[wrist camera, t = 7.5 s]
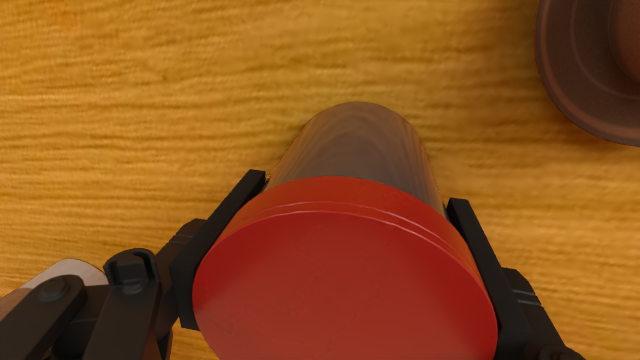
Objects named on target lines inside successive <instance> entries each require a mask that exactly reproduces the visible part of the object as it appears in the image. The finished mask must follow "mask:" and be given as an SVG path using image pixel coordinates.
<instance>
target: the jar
mask: <svg viewBox="0 0 640 360" xmlns="http://www.w3.org/2000/svg"><path fill="white" fill-rule="evenodd" d="M320 176H344V177H355V178H361V179H366V180H372V181H376V182H379V183H382V184H386V185H389V186H392V187H395V188H397V189H399V190H402V191H404V192H406V193H409V194H411V195H413V196H414V197H416V198H418V199H419V200H421V201H423V202H425V203H426V204H428V205H430V206H431V207H432V208H433V209H435V210H436V211H437V212H439V213H440V214H441V215H442V216H444V217H445V218H446V219H447V220H448V221H449V222H450V223H451V221H450V218H449V215H448V212H447V210H446V207H445V204H444V201H443V198H442V196H441V193H440V190H439V187H438V185H437V182H436V179H435V176H434V174H433V171H432V168H431V165H430V162H429V160H428V157H427V154H426V151H425V149H424V146H423V143H422V141H421V139H420V137H419V135H418V134H417V132H416V131H415V129H414V128H413V127H412V126H411V125H410V123H409V122H408V121H406V120H405V119H404V118H403V117H402V116H400V115H399V114H397V113H396V112H394V111H392V110H390V109H388V108H386V107H383V106H380V105H377V104H373V103H367V102H349V103H343V104H338V105H335V106H332V107H330V108H327V109H325V110H323V111H322V112H320V113H318V114H317V115H316V116H314V117H313V118H312V119H311V120H310V121H309V122H307V123H306V125H305V126H304V127H303V128H302V130H301V131H300V133H299V134H298V136H297V137H296V138H295V140H294V141H293V143H292V144H291V146H290V147H289V149H288V150H287V152H286V153H285V155H284V156H283V158H282V159H281V161H280V162H279V164H278V165H277V166H276V168H275V169H274V171H273V172H272V174H271V175H270V177H269V178H268V180H267V181H266V183H265V184H264V186H263V187H262V189H261V190H260V192H259V193H258V195H259V194H260V193H262V192H264V191H267V190H269V189H271V188H273V187H275V186H277V185H281V184H284V183H287V182H290V181H293V180H298V179H304V178H309V177H320ZM451 224H452V223H451Z"/></svg>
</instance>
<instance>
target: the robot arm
mask: <svg viewBox="0 0 640 360" xmlns="http://www.w3.org/2000/svg"><path fill="white" fill-rule="evenodd" d="M264 184H265V171H259V170H252V169H250V170H249V171H248V172H247V173H246V174H245V176H244V177H243V178H242V179H241V180H240V182H239V183H238V184H237V185H236V186H235V187H234V189H233V190H232V191H231V192H230V193H229V195H228V196H227V197H226V198H225V199H224V200H223V202H222V203H221V204H220V205H219V206H218V208H217V209H216V210H215V211H214V212H213V213H212V215H211V216H210V217H209V218H208V219H207V220H203V219H197V218H195V219H194V220H192V221H190V222H188V223H186V224H185V225H183V226H182V227H181V229H180V230H179V231H178V232H177V233H176V235H174V236H173V237H172V238H171V239H170V240H169V243H167V244H166V245H165V246H164V247H163V248H162V249H161V250H160V251H159V252H158V253H157V254H156V255H154V254H153V253H152V252H151V251H150V250H147V249H144V248H133V249H129V250H125V251H122V252H120V253H118V254H116V255H114V256H113V257H111V258H110V259H109V260H107V262H106V263H105V264H104V266H103V269H104V272H105V275H106V277H107V280H108V283H109V284H104V285H92V286H85V284H84V281H83V279H82V278H81V277H79V276H78V275H73V274H67V275H60V276H56V277H53V278H50V279H48V280H46V281H44V282H42V283H40V284H39V285H37V286H36V287H35V288H34V289H32V290H31V291H30V292H29V293H28V294H27V295H26V296H25V297H24V298H23V299H22V300H21V301H20V302H19V303H18V304H17V305H16V306H15V307H14V308H13V309H12V310H11V311H10V312H9V313H8V314H7V315H6V316H5V317H4V318H3V319H2V320H1V321H0V360H170V353H171V346H172V339H173V331H172V326H173V324H174V323H175V321H176V320H177V318H178V317H179V318H180V323H181V327H182V328H187V329H192V330H197V331H200V329H199V327H198V325H197V322H196V318H195V315H194V312H193V304H192V289H193V282H194V279H195V275H196V272H197V269H198V267H199V265H200V263H201V261H202V259H203V258H204V257H205V255H206V254H207V253H208V251H209V250H210V248H211V247H212V246H213V244H214V243H215V241H216V240H217V239H218V237H219V236H220V235H221V233H222V232H223V230H224V229H225V228H226V226H227V225H228V224H229V222H230V221H231V220H232V218H233V217H234V216H235V214H236V213H237V212H238V211H239V210H240V209H241V208H242V207H243V206H244V205H245V204H246V203H247V202H249V201H250V200H252V199H253V198H254V197H256V196H257V195H258V193H259V192H260V190H261V189H262V187H263V186H264ZM446 210H447V212H448V215H449V218H450V221H451V223H452V226H453V227H454V228H455V229H456V230H457V231H458V232H459V234H460V235H461V237H462V238H463V239H464V241H465V242H466V244H467V246H468V248H469V250H470V252H471V254H472V256H473V258H474V261H475V263H476V266H477V268H478V270H479V273H480V275H481V278H482V280H483V283H484V285H485V288H486V290H487V293H488V296H489V298H490V300H491V303H492V305H493V309H494V312H495V316H496V320H497V329H498V340H497V346H496V352H495V355H494V358H493V360H586V359H585V358H583V357H582V356H581V355H580V354H578V353H577V352H575V351H573V350H572V349H570V348H568V347H566V346H565V344H564V343H563V341H562V339H561V338H560V336H559V334H558V332H557V331H556V329H555V327H554V325H553V324H552V322H551V320H550V318H549V317H548V315H547V313H546V311H545V310H544V308H543V307H541V303H540V301H539V299H538V297H537V296H535V292H534V290H533V289H532V287H531V285H530V283H529V282H528V281H527V280H526V279H525V278H524V277H523V276H522V275H521V274H520V273H519V272H518V271H517V270H516V269H510V268H504V267H501V266H500V264H499V262H498V260H497V258H496V256H495V254H494V252H493V250H492V248H491V246H490V244H489V242H488V240H487V238H486V236H485V234H484V232H483V230H482V228H481V226H480V224H479V221H478V219H477V217H476V215H475V213H474V211H473V209H472V207H471V205H470V203H469V201H468V200H465V199H458V198H451V197H450V199H449V202H448V205H447V208H446Z"/></svg>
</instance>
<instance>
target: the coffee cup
mask: <svg viewBox="0 0 640 360" xmlns="http://www.w3.org/2000/svg"><path fill="white" fill-rule="evenodd" d="M67 274H73V275H78V276H79V277H81V278H82V279H83V281H84V284H85V286H92V285H104V284H109V283H108V280H107V277H106V276H105V275H104V274H103V273H102V272H101V271H99V270H98V269H97V268H95V267H94V266H92V265H90V264H88V263H86V262H83V261H80V260H76V259H63V260H61V261H58V262H57V263H55V264H54V265H52V266H51V267H49V268H48V269H46V270H45V271H43V272H42V273H40V274H39V275H37V276H36V277H34V278H33V279H31V280H30V281H28V282H27V283H25V284H24V285H22V286H21V287H19V288H18V289H16V290H14V291H12V292H10V293H9V294H7V295H6V296H4V297H3V298H1V299H0V321H1V320H2V319H3V318H4V317H5V316H6V315H7V314H8V313H9V312H10V311H11V310H12V309H13V308H14V307H15V306H16V305H17V304H18V303H19V302H20V301H21V300H22V299H23V298H24V297H25V296H26V295H27V294H28V293H29V292H30V291H31V290H32V289H34V288H35V287H36V286H37V285H39V284H40V283H42V282H44V281H46V280H48V279H50V278H53V277H56V276H60V275H67Z"/></svg>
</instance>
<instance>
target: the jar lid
mask: <svg viewBox="0 0 640 360" xmlns="http://www.w3.org/2000/svg"><path fill="white" fill-rule="evenodd" d="M192 304H193V312H194V315H195V318H196V322H197V325H198V327H199V329H200V331H201V333H202V335H203V337H204V339H205V340H206V342H207V343H208V345H209V346H210V348H211V349H212V350H213V352H214V353H215V354H216V355H217V356H218V358H219V359H220V360H493V358H494V355H495V352H496V346H497V340H498V329H497V320H496V316H495V312H494V309H493V305H492V303H491V300H490V298H489V296H488V293H487V290H486V288H485V285H484V283H483V280H482V278H481V275H480V273H479V270H478V268H477V266H476V263H475V261H474V258H473V256H472V254H471V252H470V250H469V248H468V246H467V244H466V242H465V241H464V239H463V238H462V237H461V235H460V234H459V232H458V231H457V230H456V229H455V228H454V227H453V226H452V224H451V223H450V222H449V221H448V220H447V219H446V218H445V217H444V216H442V215H441V214H440V213H439V212H437V211H436V210H435V209H433V208H432V207H431V206H430V205H428V204H426V203H425V202H423V201H421V200H419V199H418V198H416V197H414V196H413V195H411V194H409V193H406V192H404V191H402V190H399V189H397V188H395V187H392V186H389V185H386V184H382V183H379V182H376V181H372V180H366V179H361V178H355V177H344V176H320V177H309V178H304V179H298V180H293V181H290V182H287V183H284V184H281V185H277V186H275V187H273V188H271V189H269V190H267V191H264V192H262V193H260V194H259V195H257V196H256V197H254V198H253V199H252V200H250V201H249V202H247V203H246V204H245V205H244V206H243V207H242V208H241V209H240V210H239V211H238V212H237V213H236V214H235V216H234V217H233V218H232V220H231V221H230V222H229V224H228V225H227V226H226V228H225V229H224V230H223V232H222V233H221V235H220V236H219V237H218V239H217V240H216V241H215V243H214V244H213V246H212V247H211V248H210V250H209V251H208V253H207V254H206V255H205V257H204V258H203V259H202V261H201V263H200V265H199V267H198V269H197V272H196V275H195V279H194V282H193V289H192Z"/></svg>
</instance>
